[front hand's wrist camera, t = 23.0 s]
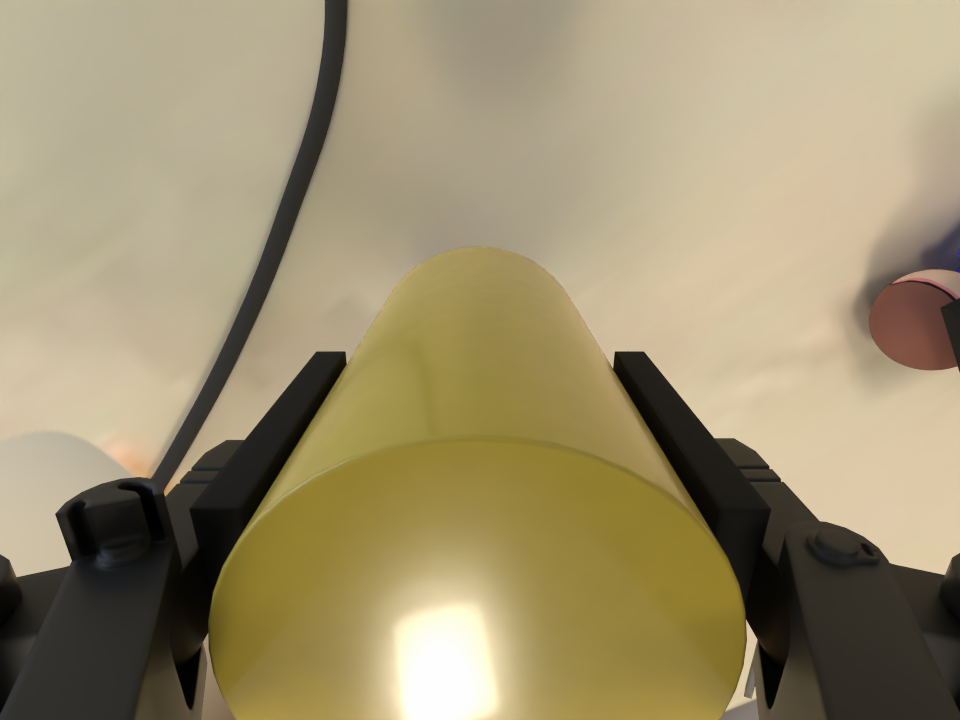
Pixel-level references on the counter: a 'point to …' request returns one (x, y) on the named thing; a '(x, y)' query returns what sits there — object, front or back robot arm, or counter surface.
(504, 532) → the cylinder
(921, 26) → the counter surface
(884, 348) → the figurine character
